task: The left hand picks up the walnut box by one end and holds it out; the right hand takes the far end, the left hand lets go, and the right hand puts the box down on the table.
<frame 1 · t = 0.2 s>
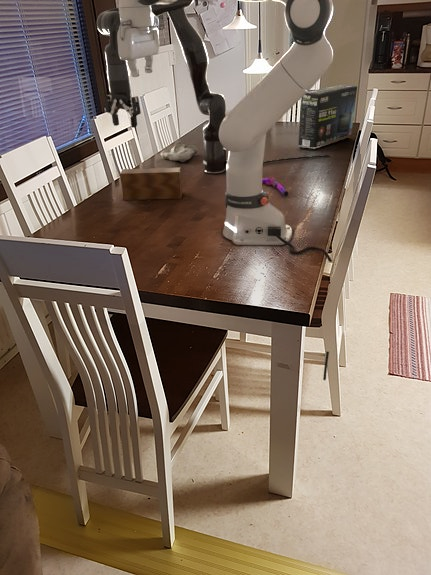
left hand: (125, 126, 168), 27 cm above the table, tool pointing down, fingers open, 8 cm apart
right hand: (142, 74, 134), 47 cm above the table, tool pointing down, fingers open, 8 cm apart
router box: (325, 143, 245), on the table
fossil: (178, 158, 230), on the table
box: (153, 196, 183), on the table
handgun: (272, 188, 186), on the table
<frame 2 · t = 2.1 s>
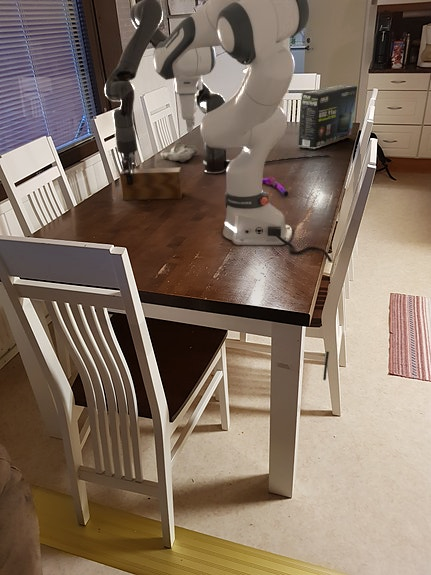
left hand: (131, 182, 180), 6 cm above the table, tool pointing down, fingers closed on box, 6 cm apart
right hand: (191, 128, 156), 29 cm above the table, tool pointing down, fingers open, 8 cm apart
box: (153, 196, 183), on the table, touching left hand
everything else where it was.
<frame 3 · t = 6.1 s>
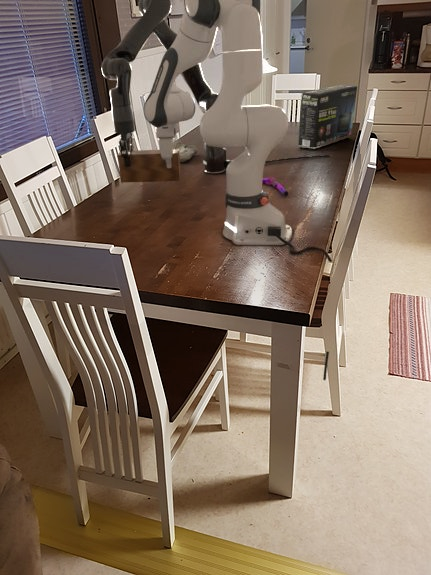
left hand: (129, 164, 176), 13 cm above the table, tool pointing down, fingers closed on box, 6 cm apart
right hand: (170, 164, 176), 13 cm above the table, tool pointing down, fingers closed on box, 6 cm apart
box: (151, 179, 179), point 7 cm above the table, touching right hand, left hand
everything else where it was.
when the right hand's fingers open (7 cm above the table, at t = 12.0 s): box drops 1 cm, on the table.
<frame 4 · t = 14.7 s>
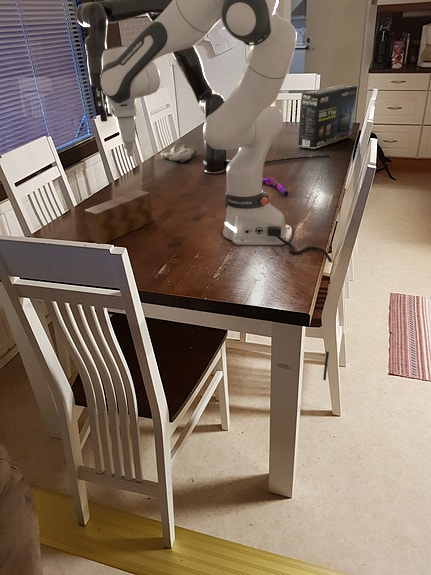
left hand: (107, 118, 168), 30 cm above the table, tool pointing down, fingers open, 8 cm apart
right hand: (128, 151, 147), 25 cm above the table, tool pointing down, fingers open, 8 cm apart
box: (122, 230, 155), on the table
everything else where it was.
at the end: box inside the target area (7.2 cm from its centre), on the table; the left hand is holding nothing; the right hand is holding nothing; box at rest at the end (0.0 cm/s) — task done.
